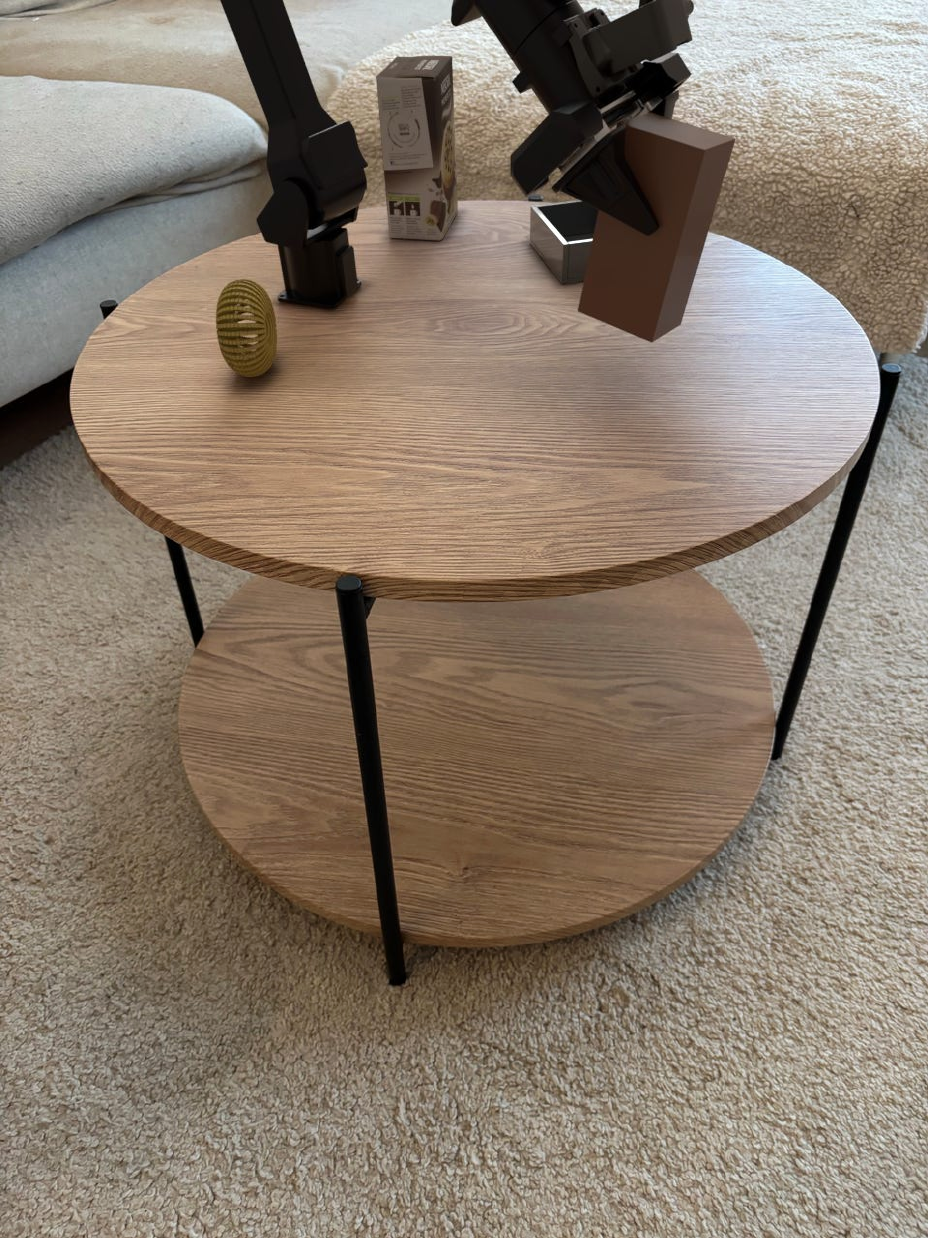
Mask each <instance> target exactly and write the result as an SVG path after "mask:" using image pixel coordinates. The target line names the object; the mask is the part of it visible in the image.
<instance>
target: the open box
mask: <svg viewBox="0 0 928 1238" xmlns="http://www.w3.org/2000/svg"><path fill="white" fill-rule="evenodd" d="M598 211H599V209H597V208H595V207H593V206H591V205H589V204H586V203H584V202H582V201H580V200H578V199H574V200H566V201H557V202H550V203H549V202H548V203H541V204H533V205H530V214H529V215H530V216H529V217H530V221H529V244H530V246H531V247H532V248H533V250H535V252H536V254H538V256H539V257H540V259H541V260H542V261H543V263H544V264H545V265H546V266H547V267H548V269H549V270H550V272H551V273H552V274H553V275H554V276H555V278H556V279H557V280H558V282H559V283H560V284H561V285H569V284H575V283H582V282H584V278H585V273H586V268H587V263H588V259H589V254H590V249H591V244H592V240H593V235H594V230H595V226H596V221H597V216H598Z"/></svg>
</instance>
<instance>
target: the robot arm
mask: <svg viewBox="0 0 928 1238" xmlns="http://www.w3.org/2000/svg"><path fill="white" fill-rule="evenodd" d="M219 1H220V4H221V7H222V9H223V11H224V14H225V16H226V19H227V22H228V25H229V27H230V30H231V32H232V36H233V37H234V41H235V42H236V45H237V49H238V50H239V54H240V55H241V58H242V61H243V63H244V66H245V67H246V68H245V69H246V71H247V74H248V76H249V79H250V81H251V84H252V88H253V89H254V91H255V94H256V96H257V99H258V102H259V105H260V108H261V110H262V112H263V115H264V118H265V120H266V123H267V127H268V128H267V129H268V134H267V149H266V161H265V162H266V169H267V172H268V176H269V179H270V180H269V181H270V183H271V187H272V190H273V194H272V195H271V196H270V198H269V199H268V201H267V202H266V204H265V205H264V207H263V208H262V210H261V211H260V213H259V214H258V216H256V219H255V220H256V224H257V226H258V229H259V231H260V233H261V235H262V238H263V241H264V242H265V243H268V244H272V245H276V246H277V250H278V255H279V262H280V267H281V272H282V279H283V284H284V289H283V291H281V292H280V293H279V294H277V301H278V302H279V303H285V304H292V305H298V306H304V307H312V308H319V309H325V310H335V309H337V308H338V307H339V306H340V305H342V303H344V302H345V300H347V299H348V298H349V297H350V296H351V295H352V294H353V293H355V291H356V290H357V289H358V288H359V287H361V286H362V279H361V278H359V277H358V273H357V266H356V258H355V249H354V247H353V245H350V242H349V233H348V232H349V231H348V228H347V227H345V226H346V225H348V224H350V223H355V222H356V221H357V219H358V214H359V209H360V204H361V203H362V202H363V201H364V196H365V192H366V191H367V189H368V180H367V175H366V171H365V169H367V168H368V167H369V163H368V162H367V160H366V159H365V157H364V156H363V153H362V151H361V149H360V146H359V142H358V139H357V135H356V130H355V128H354V126H353V124H352V122H351V121H350V120H348V119H346V120H344V121H342V122H339V123H338V122H336V120H334V118H332V117H331V115H330V114H329V113H328V112H327V111H326V110H325V109H324V108H323V107H322V105H321V102H320V100H319V98H318V94H317V92H316V90H315V87H314V84H313V81H312V78H311V76H310V71H309V70H308V67H307V64H306V61H305V59H304V55H303V52H302V50H301V47H300V44H299V42H298V38H297V36H296V32H295V30H294V27H293V24H292V21H291V19H290V16H289V13H288V11H287V8H286V5H285V2H284V0H219ZM694 9H695V4H694V1H693V0H639V1H638V8H635V9H634V10H632V11H630V12H628V13H626V14H623V15H622V16H619V17H617V18H615V19H613V20H610V19H609V17H608V15H607V14H606V12H605V11H604V10H603V9H602V8H597V6H595V7H593V8H591V9H588V10H586V11H585V10H584V8H583V7H582V6H581V4H580V3H579V1H578V0H452V3H451V12H450V23H451V25H452V26H453V27H459V26H462V25H465V24H467V23H470V22H473V21H476V20H478V19H481V18H482V19H483V20H484V21H485V23H486V24H487V26H488V27H489V29H490V30H491V32H492V33H493V35H494V36H495V38H496V39H497V41H498V42H499V44H500V45H501V47H502V48H503V49H504V51H505V52H506V53H507V56H508V57H509V58H510V59H511V61H512V62H513V64H514V65H515V67H516V68H517V69H518V71H519V72H518V74H517V75H515V77H514V78H513V80H512V81H511V83H512V84H513V86H514V87H515V89H516V90H517V92H518V93H519V94H520V95H521V94H523V93H525V92H527V91H529V90H532V92H533V94H534V95H535V97H536V98H537V100H538V101H539V102H540V104H541V105H542V107H543V108H544V109H545V111H546V112H547V114H548V115H547V116H546V117H545V118H544V119H543V120H542V121H541V122H540V123H539V124H538V125H537V126H536V127H535V129H533V131H532V132H531V133H530V134H529V135H528V136H527V137H526V138H525V139H524V140H523V141H522V142H521V143H520V144H519V145H518V147H517V148H516V149H514V151H513V152H512V153H511V154H510V157H509V158H510V160H509V161H510V163H509V165H510V166H509V168H510V171H509V172H510V177H511V178H512V180H513V181H514V183H515V184H516V186H517V187H518V188H519V190H520V192H521V193H522V194H523V196H525V198H528V197H530V196H531V195H533V194H535V193H536V192H538V191H539V190H541V189H542V188H544V187H545V186H546V185H547V184H548V183H549V182H550V176H551V174H553V173H554V172H555V171H556V170H557V169H558V170H559V172H560V173H561V175H562V176H561V177H560V178H559V179H558V180H557V181H556V182H555V183H554V184H553V185H552V186H551V188H550V190H551V191H552V192H554V193H555V194H558V193H560V192H561V193H563V194H565V195H567V196H570V197H572V198H574V199H575V200H580V201H582V202H584V203H586V204H589V205H591V206H593V207H595V208H597V209H599V210H601V211H602V212H604V213H606V214H608V215H610V216H612V217H613V218H615V219H617V220H619V221H621V222H623V223H624V224H626V225H628V226H630V227H632V228H633V229H635V230H637V231H639V232H641V233H642V234H644V235H646V236H650V235H651V234H652V233H654V232H655V231H656V230H657V229H658V228H659V223H658V220H657V218H656V216H655V214H654V212H653V209H652V207H651V205H650V203H649V202H648V200H647V198H646V196H645V194H644V192H643V190H642V189H641V187H640V185H639V183H638V181H637V179H636V177H635V175H634V174H633V172H632V170H631V168H630V166H629V164H628V162H627V161H626V158H625V135H626V124H625V123H623V124H622V125H620V126H619V127H617V128H616V126H617V122H619V121H623V120H626V119H630V118H633V117H637V116H640V115H644V114H647V113H650V112H651V113H655V114H658V115H661V116H664V117H668V118H671V119H673V116H674V112H675V107H676V103H677V101H678V100H679V99H680V91H679V88H680V87H682V85H683V84H684V83H685V82H686V81H687V80H689V79H690V78H691V76H692V74H693V73H692V72H691V70H690V69H689V67H688V66H687V64H686V63H685V61H684V60H683V57H681V55H680V54H679V52H675V51H677V49H678V47H681V46H682V45H684V44H688V43H690V42H692V41H694V40H693V39H694V38H693V35H692V29H691V26H690V22H689V18H690V15H691V14H692V13H694Z"/></svg>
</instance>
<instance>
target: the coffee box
mask: <svg viewBox="0 0 928 1238" xmlns="http://www.w3.org/2000/svg"><path fill="white" fill-rule="evenodd" d="M453 58H454V57H453V56H452V55H417V56H416V55H415V56H396V57H395V58H394V59H393V60H392V61H391V62H390V63H389V64H387V66H385V67H384V68H383V69H382V70H381V71H380V72H379V73H378V74H377V75H376V76H375V80H376V81H375V82H376V94H377V107H378V109H377V110H378V120H379V121H378V122H379V132H380V145H381V156H382V168H383V177H384V190H385V191H384V193H385V203H386V214H387V215H386V216H387V228H388V237H389V238H391V239H407V240H409V239H410V240H422V241H423V240H424V241H425V240H426V241H438V242H439V241H441V240H443V238H444V236H445V235H446V233H447V231H448V230H449V228H450V226H451V224H452V223H453V221H454V219H455V218H456V216H457V214H458V212H459V205H458V204H459V201H458V198H459V197H458V196H459V195H458V174H457V173H458V171H457V151H456V148H457V147H456V146H457V145H456V128H455V127H456V123H455V122H456V121H455V97H454V96H455V95H454V94H455V93H454V92H455V91H454V67H453Z"/></svg>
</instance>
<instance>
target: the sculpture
mask: <svg viewBox="0 0 928 1238" xmlns="http://www.w3.org/2000/svg"><path fill="white" fill-rule="evenodd" d="M273 305H274V304H273V303H272V300H271V298H270V296H269V294H268V292H267V291H266V290H265V288H264V287H262V285H260V284H259V283H257V282H256V281H253V280H252V279H247V278H241V279H235V280H233V281H231V282H229V283H228V284H226V285H225V286H224V288H223V289H222V290H221V292H220V294H219V295H218V299H217V303H216V308H215V324H216V325H215V329H216V335H217V337H216V338H217V342H218V346H219V350H220V353H221V355H222V357H223V359H224V361H225V363H226V364H227V366H228V367H229V368H230V369H231V370H232V371H234V373H236V374H238V375H240V376H242V377H245V378H247V377H248V378H255V377H259V376H261V375H264V374H265V373H266V372H268V371H269V370H270V368H271V367H272V365H273V363H274V361H275V358H276V355H277V347H278V329H277V328H278V327H277V320H276V313H275V310H274V306H273ZM243 321H251V322H243ZM250 336H253V337H250Z"/></svg>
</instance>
